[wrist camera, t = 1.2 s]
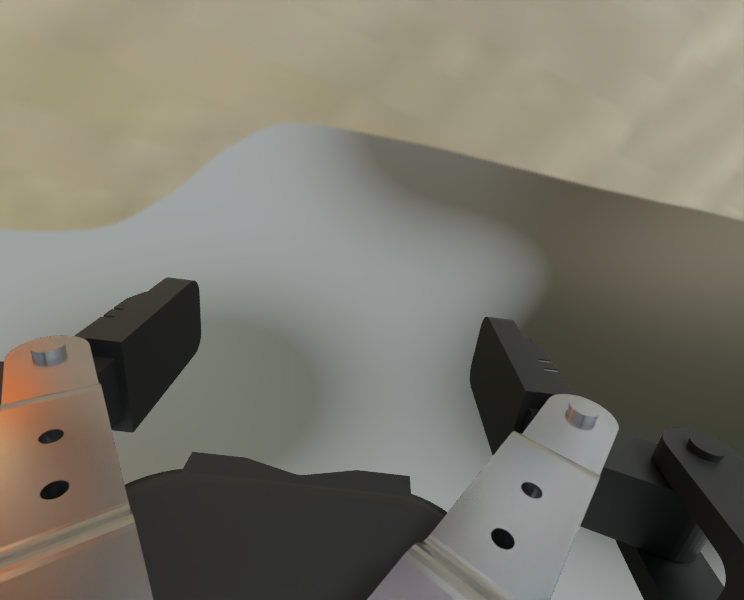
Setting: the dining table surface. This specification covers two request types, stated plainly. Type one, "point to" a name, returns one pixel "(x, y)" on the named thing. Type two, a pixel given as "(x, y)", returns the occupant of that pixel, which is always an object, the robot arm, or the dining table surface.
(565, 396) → the robot arm
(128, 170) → the dining table surface
